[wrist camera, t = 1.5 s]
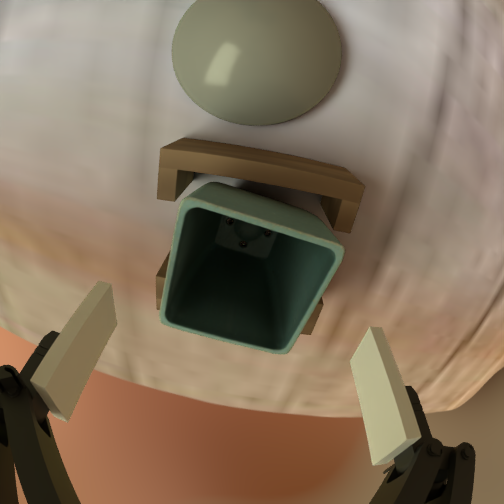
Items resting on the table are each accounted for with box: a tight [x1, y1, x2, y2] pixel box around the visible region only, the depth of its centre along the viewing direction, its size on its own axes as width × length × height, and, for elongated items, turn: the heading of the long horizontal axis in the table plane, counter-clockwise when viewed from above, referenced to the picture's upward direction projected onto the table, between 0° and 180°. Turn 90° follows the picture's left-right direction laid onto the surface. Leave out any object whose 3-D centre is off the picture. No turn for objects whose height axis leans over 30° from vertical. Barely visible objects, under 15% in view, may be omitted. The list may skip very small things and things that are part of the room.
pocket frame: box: [156, 138, 365, 335], centre depth 21 cm, size 13×13×5 cm
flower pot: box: [159, 182, 345, 354], centre depth 20 cm, size 9×9×9 cm
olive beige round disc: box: [172, 0, 342, 125], centre depth 16 cm, size 12×12×1 cm
